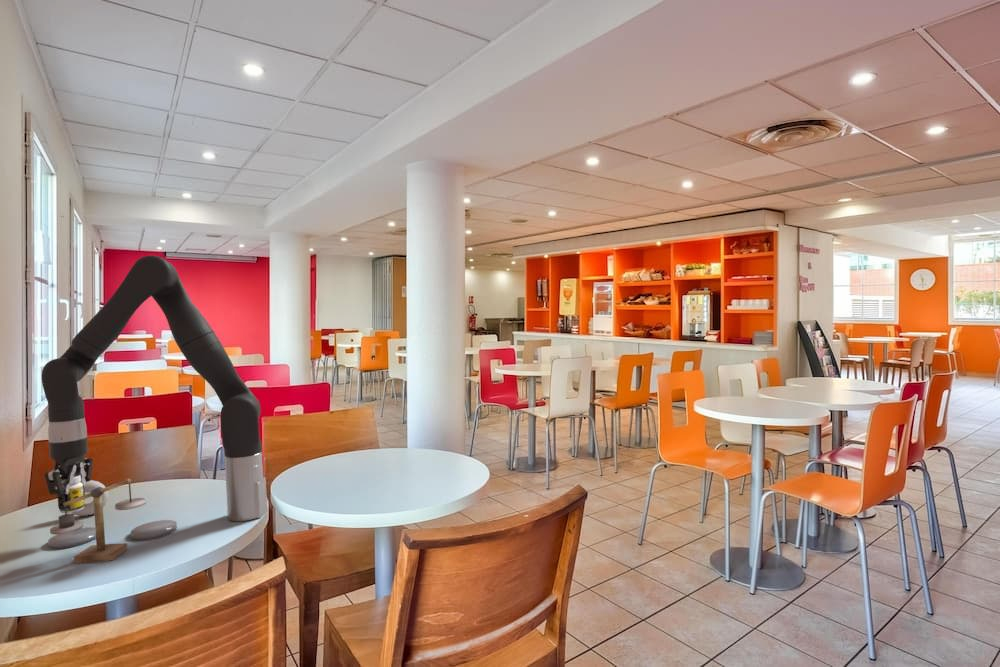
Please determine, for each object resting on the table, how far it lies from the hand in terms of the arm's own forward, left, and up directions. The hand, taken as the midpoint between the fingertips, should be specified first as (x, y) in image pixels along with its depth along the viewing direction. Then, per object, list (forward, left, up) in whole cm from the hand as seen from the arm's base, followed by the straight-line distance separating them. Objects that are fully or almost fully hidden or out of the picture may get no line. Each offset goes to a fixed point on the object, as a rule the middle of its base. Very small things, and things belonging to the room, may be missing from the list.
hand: (72, 504), depth 136 cm
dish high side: (-18, -2, -9) cm, 20 cm away
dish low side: (0, 0, -9) cm, 9 cm away
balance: (-13, +11, -9) cm, 19 cm away
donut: (+8, -18, -9) cm, 22 cm away
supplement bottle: (0, 0, -2) cm, 2 cm away
